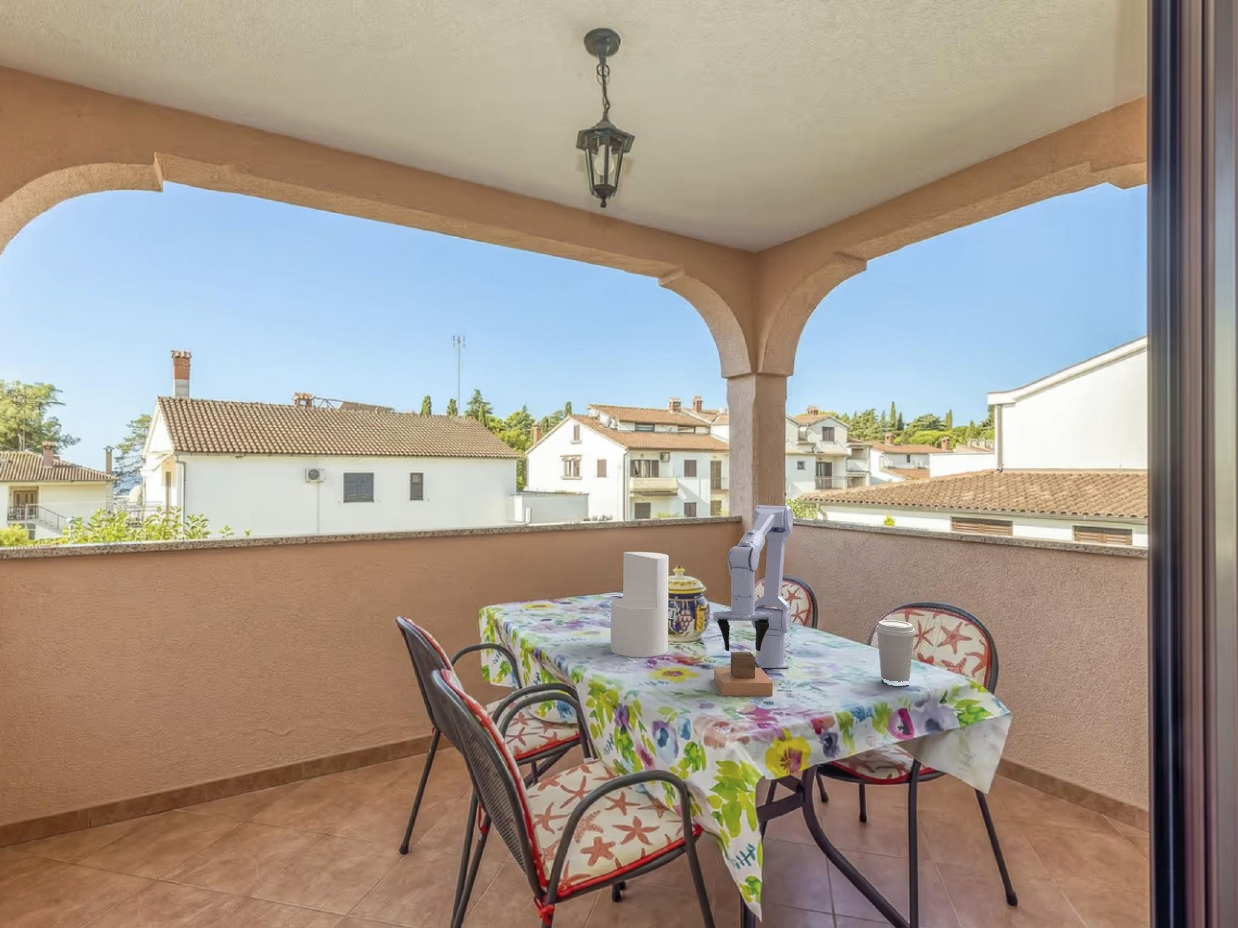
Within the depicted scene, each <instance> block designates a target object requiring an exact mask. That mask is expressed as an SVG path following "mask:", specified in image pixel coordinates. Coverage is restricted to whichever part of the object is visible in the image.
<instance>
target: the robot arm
mask: <svg viewBox="0 0 1238 928" xmlns="http://www.w3.org/2000/svg"><path fill="white" fill-rule="evenodd" d="M752 518H753V526H752V527H751V529H748V530H747V531H745V533H744V534H743V536H742V537H741V538H740V540H739V542H738V544H737V545H734V546H733V547H731V548H730V549H729V550H728V553H727V559H726V560H727V565H728V570H729V571H728V574H729V576H730V579H731V580H730V581H731V582H730V592H731V593H730V594H731V595H730V597H731V598H730V603H731V604H730V610H726V611H725V610H724V611H712V620H713V621H714V622H716V623H717V625H718V627H719V630H720V633H721V635H722V639H723V644H724V649H725V651H726V652H730V629H731V628H730V627H731V626H730V623H729V622H731V621H733V622H736V621H737V622H739V621H740V622H745V621H746V622H751V625H752V627H753V628H754V629H755V642H754V643H755V644H754V645H755V656H754V655H753V656H754V657H755V664H757V666H758V668H761V669H789V668H790V666H789V665H788V664H787V662H786V661H785V654H786V653H785V650H786V649H785V646H786V645H785V644H786V643H785V641H786V640H785V638H786V637H785V634H787V633H788V632H789V631H790V629H791V626H792V614H791V612H792V611H791V610H792V609H791V605H790V604H789V603H788V602H787V601H786V600H785V599H784V598H783V597H782V589H783V578H784V577H783V575H784V564H785V563H784V560H785V548H786V540H787V538H790V537H791V536H792V533H793V528H794V512H793V510H792V507H791V506H790V505H764V504H763V505H762V504H757V505H756V506H755V507H754V509H753V515H752ZM766 539H767V546H766V561H765V574H764V584H763V585H764V587H763V595H762V596H761V597H759V598H758V599H756V600H755V592H756V591H755V590H756V589H755V587H756V586H755V583H756V580H755V579H756V578H755V577H756V575H755V573H756V572H755V571H756V570H757V569H758V566H759V560H760V557H761V556H760V553H761V551H762V550H763V548H764V546H765V544H766ZM773 607H774V608H773Z"/></svg>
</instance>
